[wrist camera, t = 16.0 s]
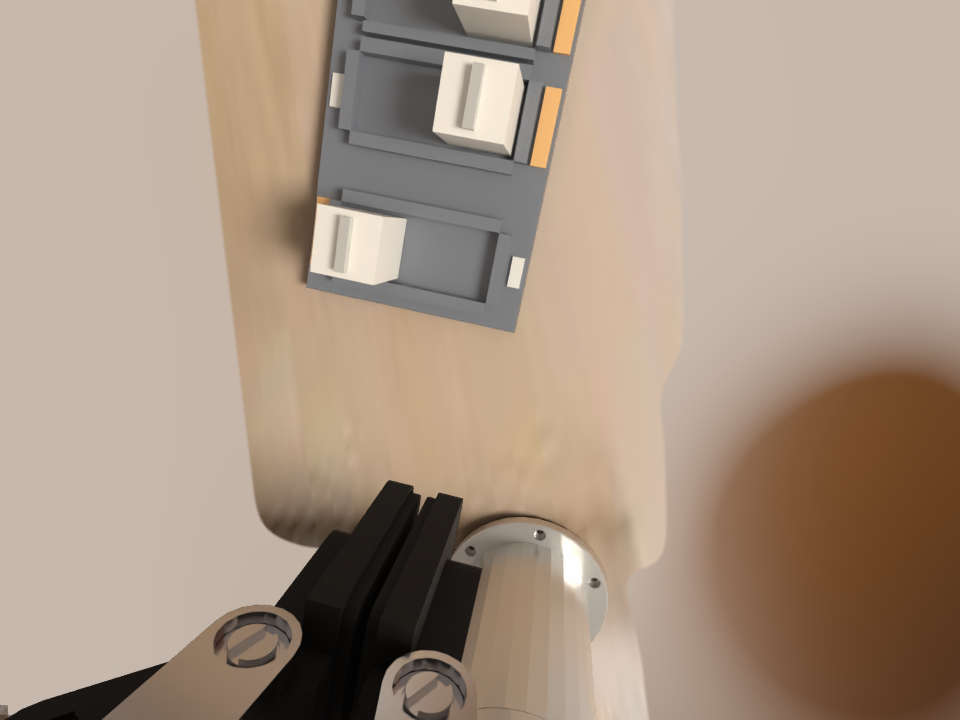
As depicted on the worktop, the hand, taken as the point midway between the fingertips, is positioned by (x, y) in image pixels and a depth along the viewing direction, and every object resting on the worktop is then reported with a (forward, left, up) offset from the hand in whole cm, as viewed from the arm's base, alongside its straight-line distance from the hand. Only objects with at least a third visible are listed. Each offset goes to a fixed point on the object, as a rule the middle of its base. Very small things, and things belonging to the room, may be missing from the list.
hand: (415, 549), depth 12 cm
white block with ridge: (+13, +5, -26) cm, 29 cm away
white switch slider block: (+4, +11, -26) cm, 28 cm away
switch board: (+11, +8, -27) cm, 30 cm away
